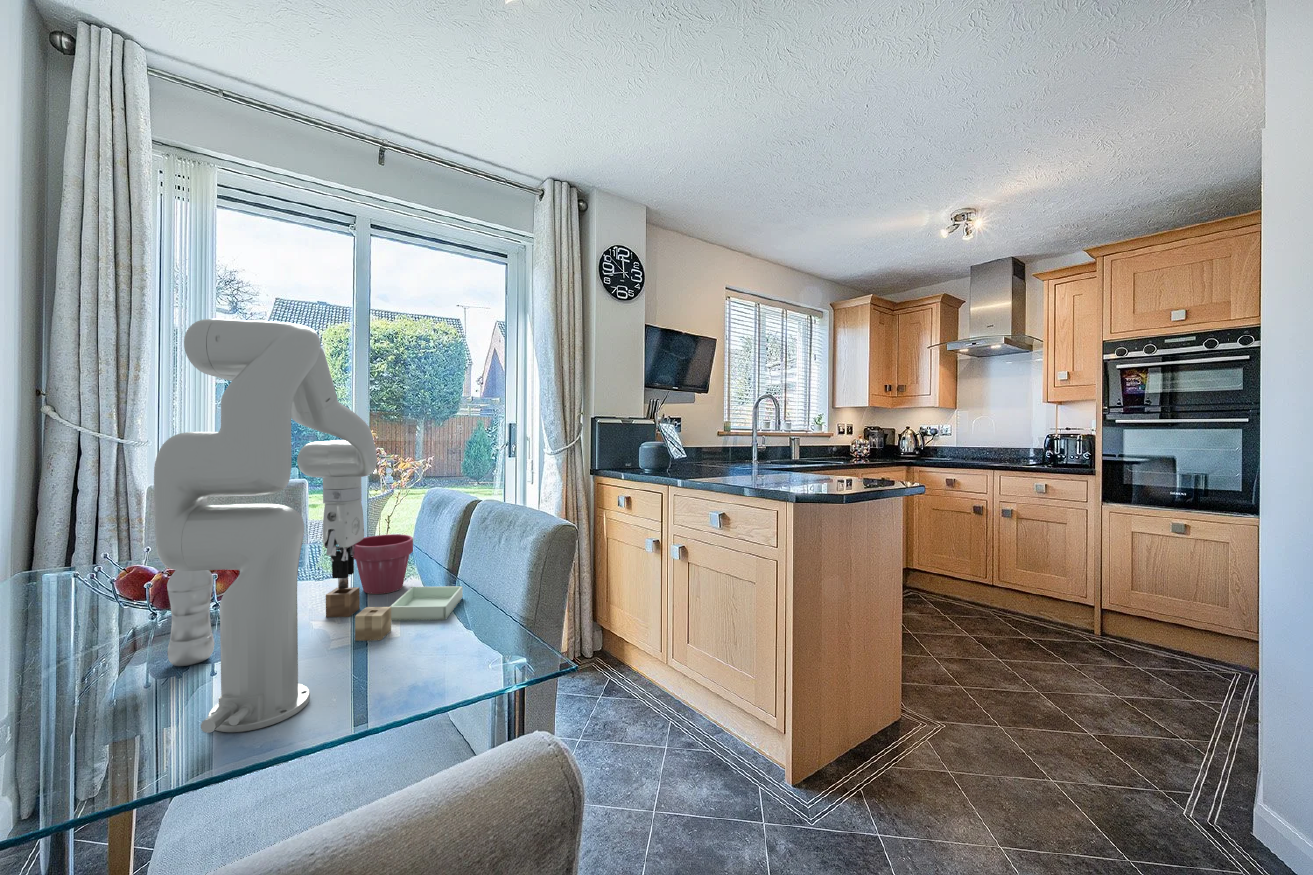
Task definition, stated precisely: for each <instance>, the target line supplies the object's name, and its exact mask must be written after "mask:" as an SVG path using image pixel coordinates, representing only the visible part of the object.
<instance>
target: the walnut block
mask: <svg viewBox="0 0 1313 875" xmlns="http://www.w3.org/2000/svg"><path fill="white" fill-rule="evenodd" d="M360 599H361V598H360V587H348V588H345V589H338V587H336V588H334V589H332V590H330V592H328V593H326V594H325V618H350V617H351V616H352V615H354V614H355V613H356V612H358V611H359V610H360V601H361V600H360Z"/></svg>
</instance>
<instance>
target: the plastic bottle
mask: <svg viewBox="0 0 1313 875" xmlns="http://www.w3.org/2000/svg"><path fill="white" fill-rule="evenodd" d="M213 586H214V576H213V574H212V572H211V570H199V571H177V570H174V572H173V573H172V575H170V577H169V579H168V581H167V583H166V587H167V588H166V590H167V596H168V600H169V604H170V613H171V626H170V627H171V628H170V640H169V642H168V646H167V647H168V648H167V653H166V654H167V659H168V661H169V662H170V664H171V665H173V666H175V667H186V666H191V665H196V664H199V663H201V662H204V661H206V660H207V659H209V658H210V657H211V655H212V654H213V653H214V649H215V640H214V634H213V631H212V624H211V616H210V615H211V614H210V613H211V609H210V608H211V598H212V592H213Z"/></svg>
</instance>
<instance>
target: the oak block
mask: <svg viewBox="0 0 1313 875" xmlns="http://www.w3.org/2000/svg"><path fill="white" fill-rule="evenodd" d="M354 621H355V622H354V624H355V625H354V634H355V636H354V637H355V638H354V639H355V640H354V641H358V642H359V641H382V640H383V639H384V638H385V637H386V636H387V635H388V634H390V632H391V631H392V620H391V607H390V606H365V607H364V608H363V609H361V611H359V612H358V613H357V614H356V615H355V617H354Z"/></svg>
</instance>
